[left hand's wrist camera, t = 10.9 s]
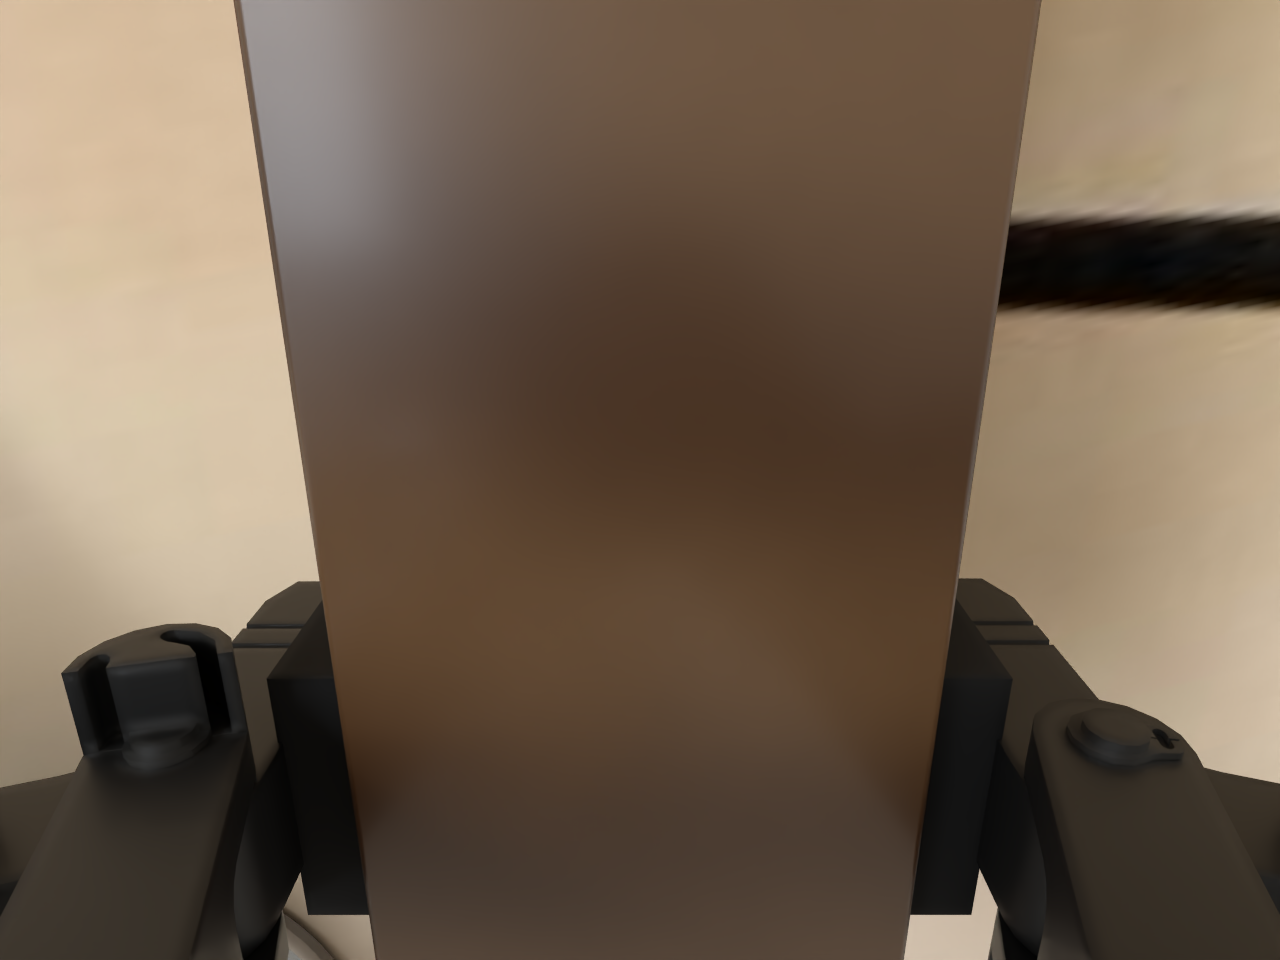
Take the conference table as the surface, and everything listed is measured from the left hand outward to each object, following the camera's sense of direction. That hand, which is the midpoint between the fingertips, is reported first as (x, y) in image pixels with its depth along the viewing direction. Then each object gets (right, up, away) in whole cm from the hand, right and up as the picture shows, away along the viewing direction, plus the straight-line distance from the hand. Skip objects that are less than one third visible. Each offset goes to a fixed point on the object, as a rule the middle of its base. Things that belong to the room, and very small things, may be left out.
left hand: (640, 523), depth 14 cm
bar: (0, +20, -7) cm, 21 cm away
